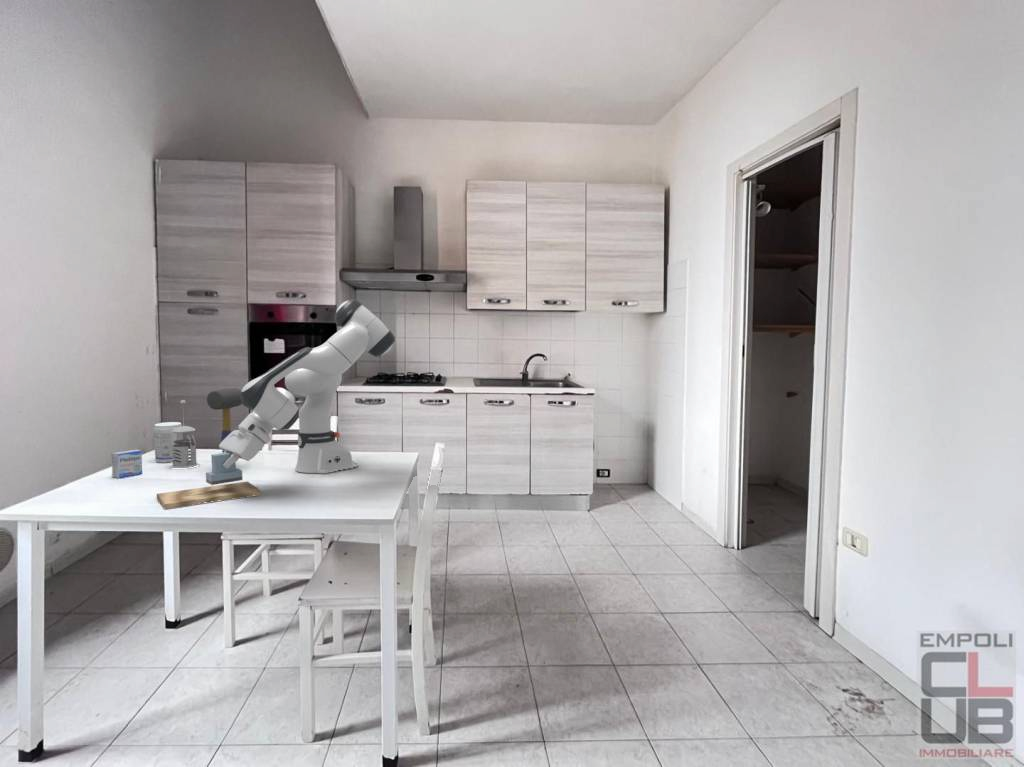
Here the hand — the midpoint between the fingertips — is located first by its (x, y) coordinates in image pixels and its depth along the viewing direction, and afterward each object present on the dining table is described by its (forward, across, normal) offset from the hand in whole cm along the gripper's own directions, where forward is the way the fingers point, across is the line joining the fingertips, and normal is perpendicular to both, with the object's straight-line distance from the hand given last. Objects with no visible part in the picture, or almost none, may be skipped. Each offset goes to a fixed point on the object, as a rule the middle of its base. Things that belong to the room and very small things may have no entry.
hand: (221, 465), depth 184 cm
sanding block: (+3, 0, +4) cm, 5 cm away
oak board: (+9, -1, +4) cm, 10 cm away
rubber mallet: (-3, -36, +16) cm, 39 cm away
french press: (+3, -50, +9) cm, 51 cm away
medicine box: (+17, -48, -5) cm, 51 cm away
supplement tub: (+4, -66, +8) cm, 66 cm away
